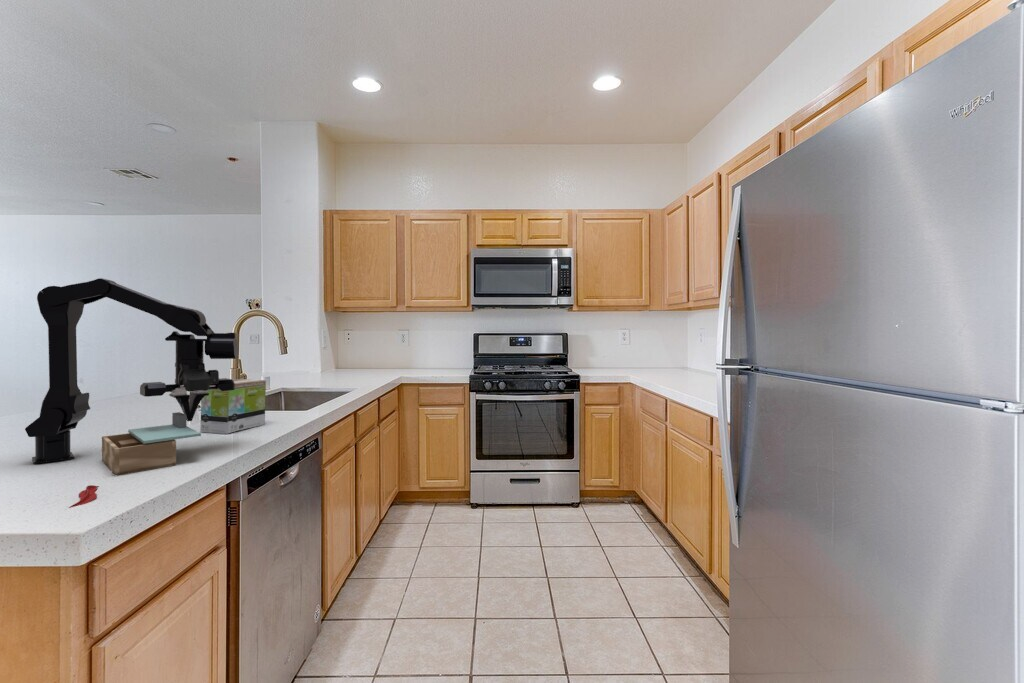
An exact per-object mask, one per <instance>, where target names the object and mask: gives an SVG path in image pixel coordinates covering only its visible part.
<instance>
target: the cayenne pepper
mask: <svg viewBox="0 0 1024 683" xmlns="http://www.w3.org/2000/svg"><path fill="white" fill-rule="evenodd" d="M99 488H100V486H98V485H93V484H92V485H91V484H90V485H89V484H88V485H87V486H86V487H85V489H84V490H82V491H80V492H79V493H78V495H79V501H78V502H76V503H74V504H72V505H71V506H69V507H68V509H71V508H74V507H78V506H83V505H86V504H88V503H92V502H93V501H95V500H96V499H97V497H98V494H97V493H96V491H97V490H99Z"/></svg>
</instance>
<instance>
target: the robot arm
mask: <svg viewBox="0 0 1024 683" xmlns="http://www.w3.org/2000/svg"><path fill="white" fill-rule="evenodd" d="M104 298H108V299H111V300H113V301H116V302H118V303H121V304H123V305H126V306H128V307H132V308H134V309H137V310H139V311H142V312H144V313H147V314H150V315H152V316H155V317H156V318H159V319H160V320H162V321H163V322H164V323H166V325H167V324H168V325H169V326H171V327H172V328H175V329H176V330H178V331H180V332H183V334H182V333H179V332H178V331H175V330H173V331H172V332H171V334H170V335H168V336H166V337H165V338H164V339H165V341H166V342H174V341H175V362H174V368H175V378H174V383H171V384H166V383H165V382H163V381H156V382H155V381H154V382H153V381H151V382H142V384H140V386H139V395H141V396H142V397H145V398H146V397H147V398H148V397H157V396H158V397H159V396H163V395H164V394H165V393H169V392H170V393H169V394H168V396H169V397H172V398H174V399H175V400H176V401H177V402H178V404H179V406H180V408H181V411H182V413H183V414H185V415H186V422H192V421H193V419H194V417H195V414H196V411H197V409H198V407H199V405H200V404H201V400H202V399H203V397H204V396H207V395H209V393H207V390H209V389H220V390H221V391H229V390H235V383H234V381H233V380H234V379H232V378H225V377H223V378H220V377H219V376H220V375H219V374H220V373H219V372H220V371H219V370H217V369H209V370H207V371H206V368H205V363H204V354H205V355H206V356H209V358H210V359H211V360H232V359H233V360H234V359H235V360H237V359H238V357H239V348H240V347H239V344H238V338H237V332H226V333H224V332H222V333H221V332H219V333H218V332H214V331H213V329H212V328H211V327H210V326H209V325H208V323H207V319H206V318H207V317H206V316H205V314H204V313H203V312H202V311H200V310H198V309H194V308H189V307H185V306H180V305H175V304H172V303H167V302H165V301H162V300H159V299H157V298H155V297H151V296H149V295H146V294H144V293H142V292H139V291H136V290H134V289H132V288H129V287H126V286H124V285H121V284H118V283H117V282H116V281H113V280H110V279H106V278H101V277H100V278H96V279H93V280H89V281H84V282H80V283H79V282H78V283H73V284H68V285H63V286H57V285H49V286H46V287H43V289H41V290H40V291H38V293H37V295H36V300H37V304H38V309H39V311H40V312H39V313H40V315H41V317H42V318H43V320H44V321H45V323H46V326H47V337H48V342H47V344H48V372H49V373H48V378H49V379H48V381H49V385H48V386H49V387H48V389H47V392H46V394H45V395H44V398H43V400H42V402H41V407H40V412H39V417H38V418H36V419H35V420H34V421H32V422H31V423H30V424H28V425H27V426H26V427H25V428H24V431H25V432H26V434H27V436H28V437H29V438H34V442H35V446H34V447H35V448H34V449H35V450H34V452H35V455H34V456H32V457H31V461H32V463H33V465H38V464H45V463H52V462H59V461H65V460H66V461H67V460H72V459H75V455H74V453H73V452H72V451H71V430H74V429H76V428H77V425H78V423H79V422H80V421H81V420H83V419H84V418H85V417H86V416H87V413H88V411H89V410H91V406H90V405H89V400H90V392H85V393H83V392H81V390H80V388H79V386H78V385H79V384H78V358H77V357H78V355H77V353H78V352H77V351H78V350H77V326H78V323H79V321H80V319H81V318H82V316H83V312H84V309H85V308H84V307H85V305H87V304H92V303H95V302H98V301H100V300H103V299H104ZM184 333H192V334H184ZM195 336H196V337H206V338H196V337H195ZM188 392H189V394H188Z"/></svg>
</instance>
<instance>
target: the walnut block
mask: <svg viewBox="0 0 1024 683" xmlns="http://www.w3.org/2000/svg"><path fill="white" fill-rule="evenodd" d="M146 444H148V443H146ZM137 445H144V444H143V443H142V442H141V441H139V440H138V439H130V440H122V441H118V448H123V447H130V446H137Z"/></svg>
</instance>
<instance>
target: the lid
mask: <svg viewBox="0 0 1024 683" xmlns="http://www.w3.org/2000/svg"><path fill="white" fill-rule="evenodd" d="M171 420H172V424H163V425H155V426H154V425H153V426H148V427H140V428H130V429H128V433H130V434H132V435H133V436H134V437H135V438H137V439H138V440H139V441H141V442H142V443H143V444H146V443H153V442H160V441H168V440H180V439H181V440H182V439H188V438H195V437H196V438H197V437H201V436H202V434H201V433H202V432H199V431H197V430H195V429H193V428H192V427H189V426H187V420H186V415H185V414H184V413H183V412H181V411H179V412H172V419H171Z"/></svg>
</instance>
